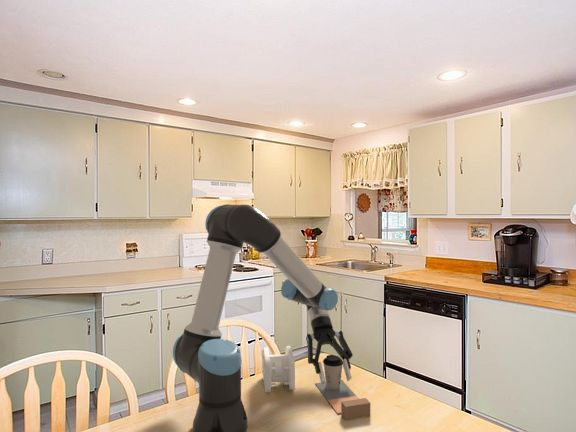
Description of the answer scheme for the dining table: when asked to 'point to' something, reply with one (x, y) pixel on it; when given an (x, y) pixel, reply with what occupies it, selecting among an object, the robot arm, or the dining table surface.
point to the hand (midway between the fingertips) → (336, 381)
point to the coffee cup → (333, 371)
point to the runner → (335, 392)
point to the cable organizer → (278, 368)
